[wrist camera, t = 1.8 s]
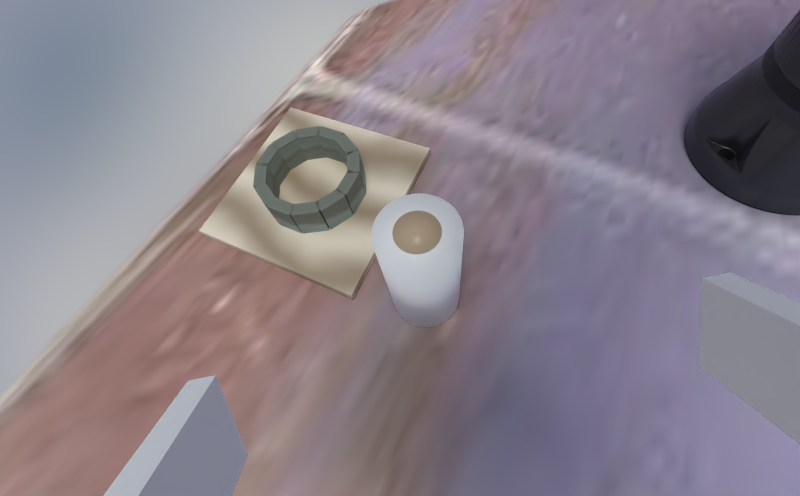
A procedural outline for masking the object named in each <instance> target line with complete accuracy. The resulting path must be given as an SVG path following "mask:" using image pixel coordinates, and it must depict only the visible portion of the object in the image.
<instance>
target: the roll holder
mask: <svg viewBox="0 0 800 496" xmlns="http://www.w3.org/2000/svg"><path fill="white" fill-rule="evenodd" d="M429 156H430V148H427V147H424V146H420V145H417V144H413V143H410V142H407V141H403V140H400V139H396V138H393V137H389V136H386V135H383V134H379V133H376V132H372V131H369V130H366V129H362V128H359V127H355V126H352V125H348V124H345V123H342V122H338V121H335V120H331V119H328V118H325V117H321V116H318V115H314V114H311V113H308V112H304V111H301V110H297V109H294V108H290V109H289V111H288V112H287V113H286V115H285V116H284V117H283V119H282V120H281V121H280V123H279V124H278V125H277V127H276V128H275V129H274V131H273V132H272V133H271V135H270V136H269V137H268V139H267V140H266V141H265V143H264V144H263V146H262V147H261V148H260V150H259V151H258V152H257V154H256V155H255V156H254V158H253V159H252V160H251V162H250V163H249V164H248V166H247V167H246V168H245V170H244V171H243V172H242V174H241V175H240V176H239V178H238V179H237V181H236V182H235V183H234V185H233V186H232V187H231V189H230V190H229V191H228V193H227V194H226V195H225V197H224V198H223V199H222V201H221V202H220V203H219V205H218V206H217V207H216V209H215V210H214V211H213V213H212V214H211V216H210V217H209V218H208V220H207V221H206V222H205V224H204V225H203V226H202V228H201V229H200V230H199V231H200V232H201V233H202V234H203V235H205V236H207V237H209V238H212V239H214V240H216V241H219V242H221V243H223V244H226V245H228V246H230V247H232V248H235V249H237V250H239V251H242V252H244V253H246V254H249V255H251V256H253V257H256V258H258V259H260V260H263V261H265V262H267V263H270V264H272V265H274V266H277V267H279V268H281V269H284V270H286V271H288V272H291V273H293V274H295V275H298V276H300V277H302V278H305V279H307V280H309V281H312V282H314V283H316V284H319V285H321V286H323V287H326V288H328V289H330V290H333V291H335V292H337V293H340V294H342V295H344V296H346V297H349V298H351V299H354V297H355V296H356V294H357V292H358V290H359V288H360V286H361V284H362V282H363V281H364V279H365V277H366V275H367V273H368V271H369V269H370V267H371V265H372V264H373V262H374V260H375V258H376V254H375V251H374V248H373V245H372V240H371V232H372V226H373V223H374V221H375V219H376V217H377V215H378V214H379V212H380V211H381V210H382V209H383V208H384V207H385V206H386V205H387V204H388V203H390V202H391V201H393V200H395V199H397V198H399V197H401V196H405V195H409V194H410V192H411V190H412V188H413V186H414V184H415V183H416V181H417V179H418V177H419V175H420V173H421V171H422V169H423V167H424V166H425V164H426V162H427V160H428V158H429Z"/></svg>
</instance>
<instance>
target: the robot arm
mask: <svg viewBox="0 0 800 496" xmlns="http://www.w3.org/2000/svg"><path fill="white" fill-rule="evenodd" d="M685 144H686V149H687V152H688V154H689V157H690V159H691V160H692V162H693V164H694V165H695V167H696V168H697V169H698V171H699V172H700V173H701V174H702V175H703V176H704V177H705V178H706V179H707V180H708V181H709V182H710V183H711V184H712V185H714V186H715V187H716V188H718V189H719V190H720V191H722V192H723V193H725V194H727V195H728V196H730V197H732V198H734V199H736V200H738V201H740V202H742V203H745V204H747V205H750V206H752V207H755V208H758V209H762V210H766V211H770V212H775V213H781V214H791V215H800V10H799V11H798V13H797V14H796V15H795V16H794V17H793V19H792V20H791V21H790V22H789V24H788V25H787V26H786V27H785V29H784V30H783V31H782V32H781V34H780V35H779V36H778V37H777V39H776V40H775V41H774V42H773V44H772V45H771V46H770V47H769V49H768V50H767V51H766V52H765V53H764V54H763V55H762V56H761V57H759V58H758V59H757V60H755V61H754V62H752V63H751V64H750V65H748V66H747V67H745V68H744V69H743V70H741V71H740V72H738V73H737V74H736V75H734V76H733V77H731V78H730V79H729V80H727V81H726V82H724V83H723V84H722V85H720V86H719V87H717V88H716V89H715V90H713V91H712V92H711V93H710V94H709V95H708V96H707V97H706V98H705V99H704V100H703V101H702V102H701V104H700V105H699V106H698V108H697V109H696V110H695V112H694V113H693V115H692V116H691V117H690V119H689V121H688V123H687V126H686V130H685ZM698 366H699V367H700V368H701V369H703V370H704V371H705V372H706V373H708V374H709V375H710V376H712V377H713V378H714V379H716V380H717V381H718V382H719V383H721V384H722V385H723V386H725V387H726V388H727V389H729V390H730V391H731V392H732V393H734V394H735V395H736V396H738V397H739V398H740V399H742V400H743V401H744V402H745V403H747V404H748V405H749V406H751V407H752V408H753V409H755V410H756V411H757V412H758V413H760V414H761V415H762V416H764V417H765V418H766V419H768V420H769V421H770V422H771V423H773V424H774V425H775V426H777V427H778V428H779V429H781V430H782V431H783V432H784V433H786V434H787V435H788V436H790V437H791V438H792V439H794V440H795V441H796V442H797V443H799V444H800V302H799V301H796V300H794V299H792V298H789V297H787V296H785V295H782V294H780V293H778V292H775V291H773V290H771V289H769V288H766V287H764V286H762V285H759V284H757V283H755V282H752V281H750V280H748V279H745V278H743V277H741V276H738V275H736V274H734V273H731V272H728V273H723V274H718V275H713V276H708V277H703V278H702V280H701V307H700V334H699V361H698ZM247 456H248V455H247V452H246V450H245V447H244V445H243V442H242V440H241V437H240V434H239V432H238V429H237V427H236V424H235V422H234V419H233V417H232V414H231V412H230V409H229V407H228V404H227V402H226V399H225V397H224V394H223V392H222V389H221V387H220V384H219V382H218V379H217V377H216V375H215V376H210V377H205V378H200V379H195V380H190V381H188V382H187V383H186V384H185V386H184V387H183V388H182V390H181V391H180V392H179V394H178V395H177V396H176V398H175V399H174V401H173V402H172V403H171V405H170V406H169V407H168V409H167V410H166V411H165V413H164V414H163V415H162V417H161V418H160V420H159V421H158V422H157V424H156V425H155V426H154V428H153V429H152V430H151V432H150V433H149V434H148V436H147V437H146V439H145V440H144V441H143V443H142V444H141V445H140V447H139V448H138V449H137V451H136V452H135V453H134V455H133V456H132V458H131V459H130V460H129V462H128V463H127V464H126V466H125V467H124V468H123V470H122V471H121V472H120V474H119V475H118V477H117V478H116V479H115V481H114V482H113V483H112V485H111V486H110V487H109V489H108V490H107V491H106V493H105V494H104V496H232V494H233V491H234V489H235V486H236V484H237V481H238V479H239V476H240V474H241V471H242V469H243V466H244V463H245V461H246V458H247Z"/></svg>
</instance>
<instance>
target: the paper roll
mask: <svg viewBox="0 0 800 496" xmlns="http://www.w3.org/2000/svg"><path fill="white" fill-rule="evenodd" d="M371 240H372V245H373V248H374V251H375V254H376V257H377V259H378V262H379V265H380V267H381V270H382V273H383V276H384V278H385V281H386V284H387V286H388V289H389V292H390V295H391V297H392V300H393V303H394V305H395V308H396V310H397V312H398V313H399V315H400V316H401V317H402V318H403V319H404V320H405V321H406V322H408V323H410V324H412V325H414V326H417V327H424V328H429V327H435V326H438V325H440V324H442V323H444V322H446V321H447V320H448V319H449V318H450V317H451V316H452V315H453V314H454V312H455V310H456V308H457V306H458V302H459V293H460V280H461V266H462V253H463V240H464V227H463V223H462V220H461V217H460V215H459V214H458V212H457V211H456V210H455V208H454V207H453V206H452V205H451V204H449V203H448V202H447V201H445V200H443V199H442V198H439V197H437V196H434V195H430V194H423V193H416V194H409V195H405V196H401V197H399V198H397V199H395V200H393V201H391V202H390V203H388V204H387V205H386V206H385V207H384V208H383V209H382V210H381V211H380V212H379V214H378V215H377V217H376V219H375V221H374V223H373V226H372V232H371Z"/></svg>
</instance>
